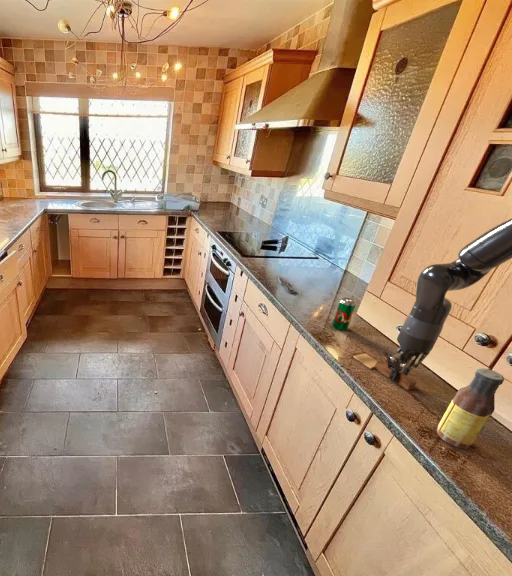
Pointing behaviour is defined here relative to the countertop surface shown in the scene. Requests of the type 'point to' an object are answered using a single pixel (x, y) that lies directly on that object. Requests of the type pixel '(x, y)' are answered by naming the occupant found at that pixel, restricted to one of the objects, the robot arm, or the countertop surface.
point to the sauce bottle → (470, 409)
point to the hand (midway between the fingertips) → (396, 379)
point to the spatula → (385, 370)
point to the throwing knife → (286, 285)
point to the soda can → (344, 314)
